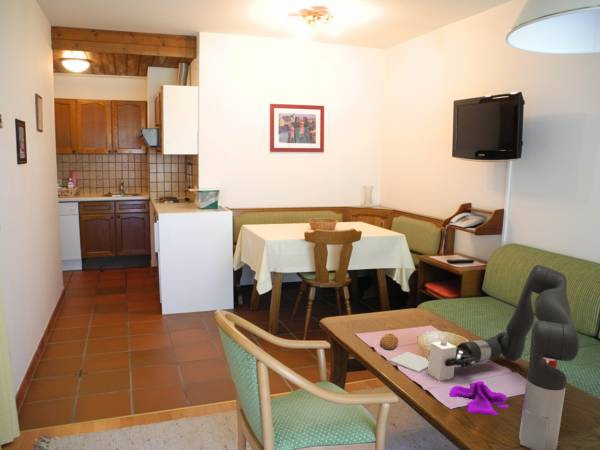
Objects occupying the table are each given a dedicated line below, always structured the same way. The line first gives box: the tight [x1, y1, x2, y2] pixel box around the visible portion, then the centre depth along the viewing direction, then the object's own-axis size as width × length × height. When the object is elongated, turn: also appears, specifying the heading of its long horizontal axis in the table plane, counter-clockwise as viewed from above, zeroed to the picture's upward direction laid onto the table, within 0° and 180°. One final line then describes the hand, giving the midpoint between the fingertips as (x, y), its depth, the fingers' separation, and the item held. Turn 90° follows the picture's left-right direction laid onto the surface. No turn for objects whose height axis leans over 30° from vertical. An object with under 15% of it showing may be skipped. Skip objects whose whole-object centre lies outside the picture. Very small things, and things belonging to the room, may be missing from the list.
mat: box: [388, 351, 429, 373], centre depth 185 cm, size 12×12×1 cm
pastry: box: [380, 333, 399, 350], centre depth 199 cm, size 9×7×4 cm
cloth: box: [448, 380, 510, 416], centre depth 161 cm, size 22×19×6 cm
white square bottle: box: [427, 340, 457, 381], centre depth 174 cm, size 6×6×12 cm
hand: (437, 358), depth 173 cm, fingers open, 8 cm apart
